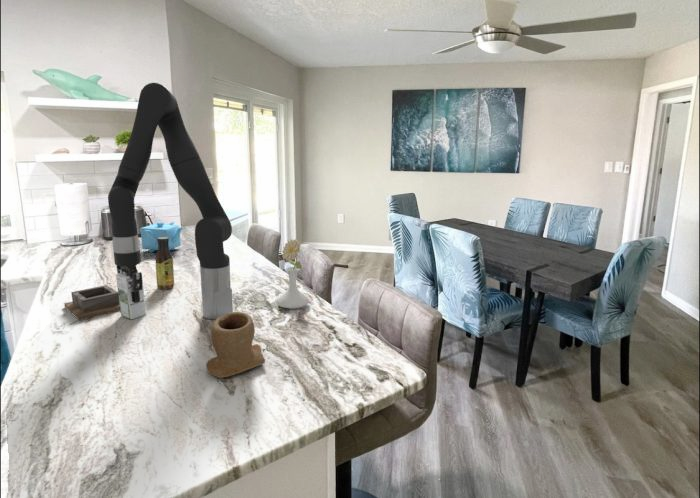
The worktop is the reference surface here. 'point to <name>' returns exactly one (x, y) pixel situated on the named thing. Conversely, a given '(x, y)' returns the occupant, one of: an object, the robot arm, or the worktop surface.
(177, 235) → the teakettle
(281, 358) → the worktop surface
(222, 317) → the stone cup
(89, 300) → the socket holder
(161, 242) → the sauce bottle
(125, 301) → the syrup box
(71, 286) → the worktop surface
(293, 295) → the flower in vase
